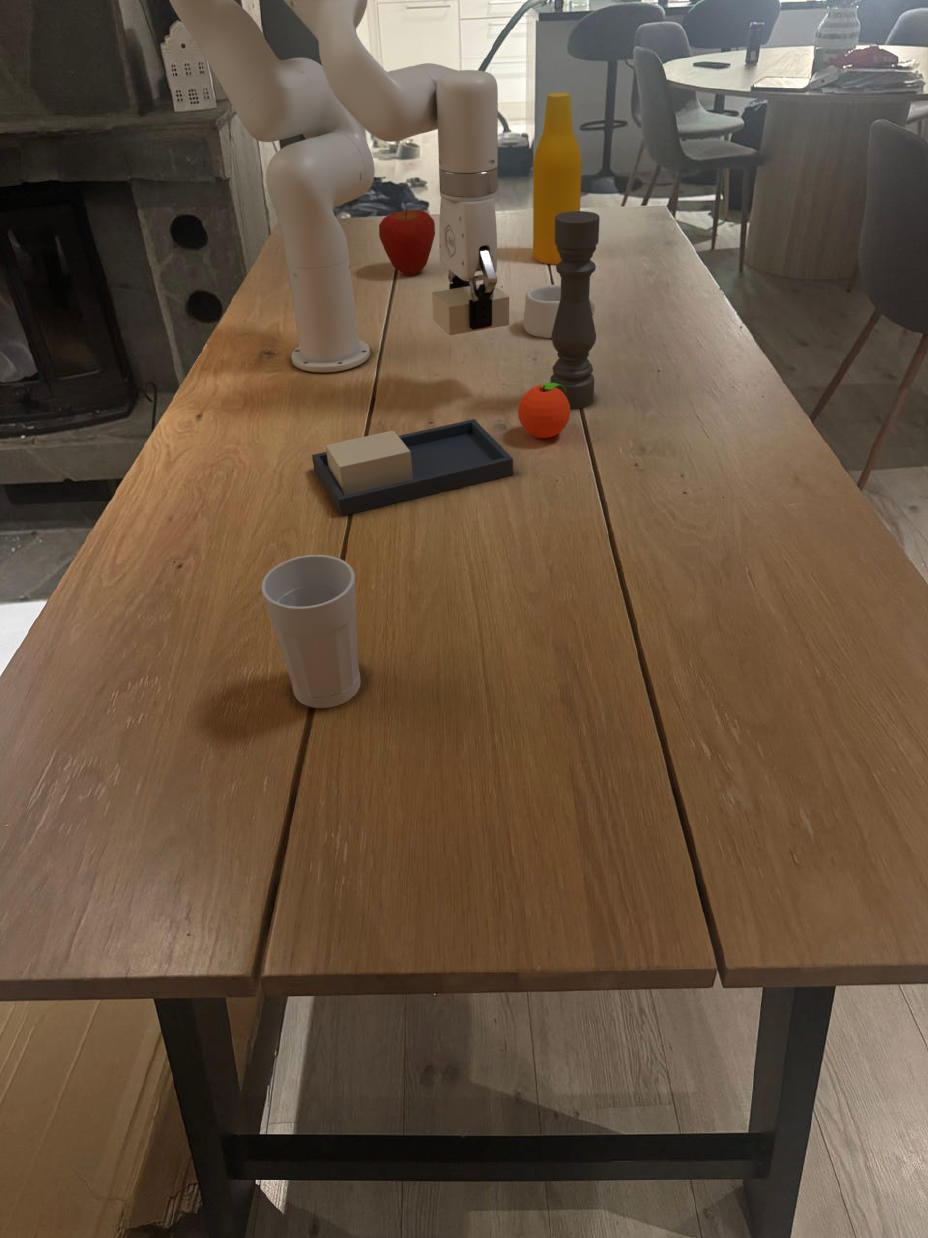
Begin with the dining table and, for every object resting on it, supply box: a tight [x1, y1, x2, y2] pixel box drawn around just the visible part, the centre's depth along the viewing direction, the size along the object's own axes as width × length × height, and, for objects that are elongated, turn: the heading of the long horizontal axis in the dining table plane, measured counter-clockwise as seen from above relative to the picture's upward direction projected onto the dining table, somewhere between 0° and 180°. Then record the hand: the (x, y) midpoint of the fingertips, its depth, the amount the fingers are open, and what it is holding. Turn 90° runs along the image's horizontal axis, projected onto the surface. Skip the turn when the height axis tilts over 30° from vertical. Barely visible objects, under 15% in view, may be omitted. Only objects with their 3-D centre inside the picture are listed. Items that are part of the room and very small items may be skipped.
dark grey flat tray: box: [311, 418, 514, 517], centre depth 118 cm, size 13×23×2 cm, turn 112°
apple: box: [378, 208, 436, 276], centre depth 179 cm, size 11×11×12 cm
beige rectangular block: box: [431, 283, 510, 336], centre depth 130 cm, size 6×9×4 cm
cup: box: [261, 554, 362, 709], centre depth 83 cm, size 8×8×12 cm
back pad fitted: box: [325, 430, 413, 496], centre depth 115 cm, size 6×9×4 cm
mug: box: [522, 284, 596, 339], centre depth 154 cm, size 12×10×6 cm
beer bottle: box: [532, 92, 583, 265], centre depth 178 cm, size 9×9×29 cm
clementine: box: [517, 382, 571, 439], centre depth 123 cm, size 8×7×7 cm
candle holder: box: [550, 210, 600, 410], centre depth 126 cm, size 6×6×25 cm
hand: (470, 317), depth 131 cm, fingers closed on beige rectangular block, 6 cm apart
